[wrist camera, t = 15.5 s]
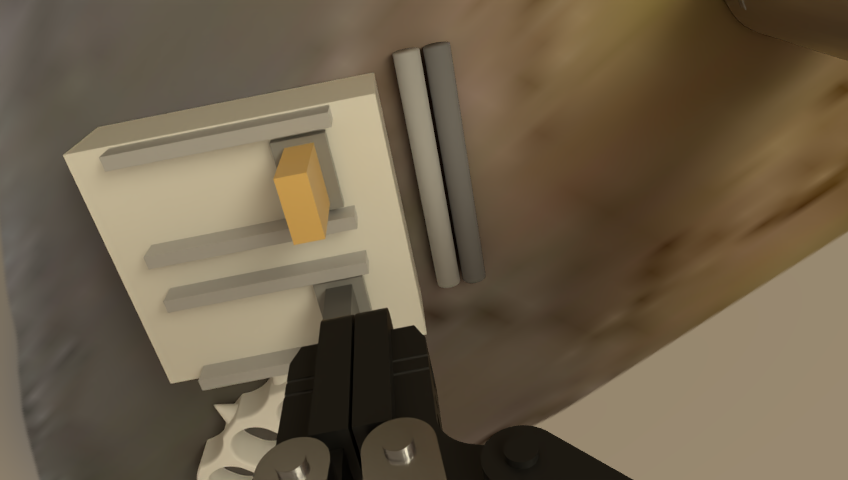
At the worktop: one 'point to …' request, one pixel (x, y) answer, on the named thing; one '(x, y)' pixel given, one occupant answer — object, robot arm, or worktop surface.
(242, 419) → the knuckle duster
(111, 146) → the breaker housing
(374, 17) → the worktop surface
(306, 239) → the breaker toggle
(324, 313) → the toggle
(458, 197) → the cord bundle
